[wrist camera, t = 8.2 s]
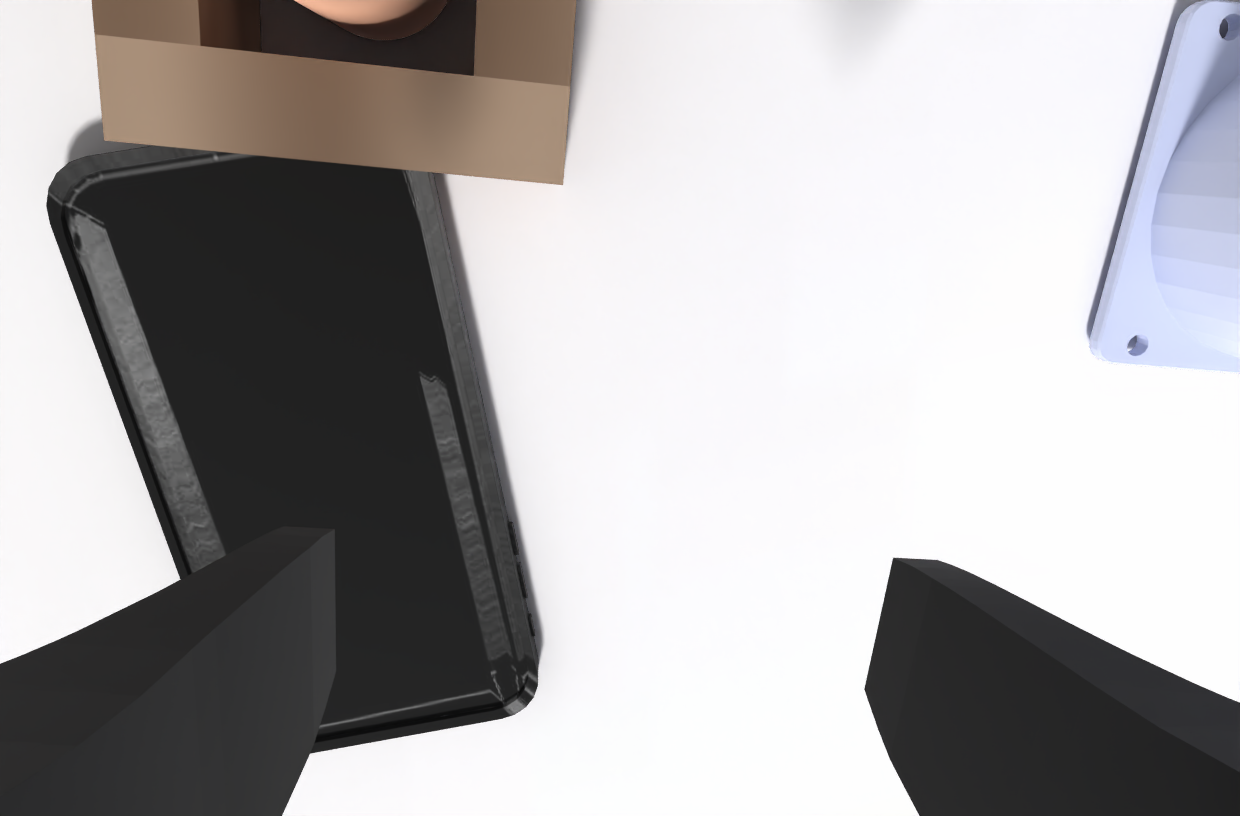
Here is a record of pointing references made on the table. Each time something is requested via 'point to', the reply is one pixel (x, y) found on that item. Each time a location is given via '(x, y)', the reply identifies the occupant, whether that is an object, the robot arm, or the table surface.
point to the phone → (311, 407)
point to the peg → (378, 16)
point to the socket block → (338, 91)
